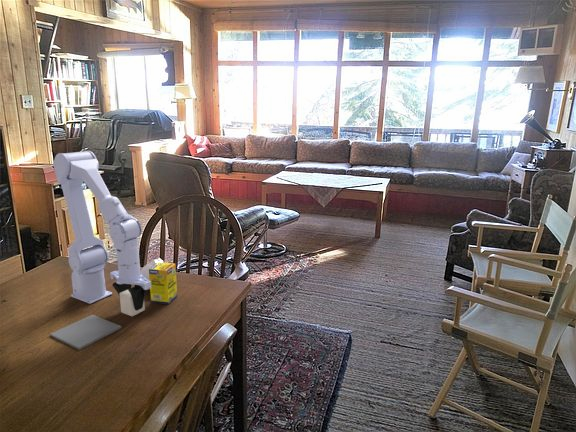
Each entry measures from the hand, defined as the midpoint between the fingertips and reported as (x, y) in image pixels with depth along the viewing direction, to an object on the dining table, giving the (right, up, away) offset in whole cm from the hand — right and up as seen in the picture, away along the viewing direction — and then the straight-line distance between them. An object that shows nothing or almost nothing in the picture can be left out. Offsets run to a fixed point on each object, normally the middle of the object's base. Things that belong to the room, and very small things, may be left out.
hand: (132, 306), depth 119 cm
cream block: (0, -1, 0) cm, 1 cm away
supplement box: (+7, 0, +8) cm, 10 cm away
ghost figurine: (+2, +2, +15) cm, 15 cm away
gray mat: (-8, -4, -11) cm, 14 cm away
